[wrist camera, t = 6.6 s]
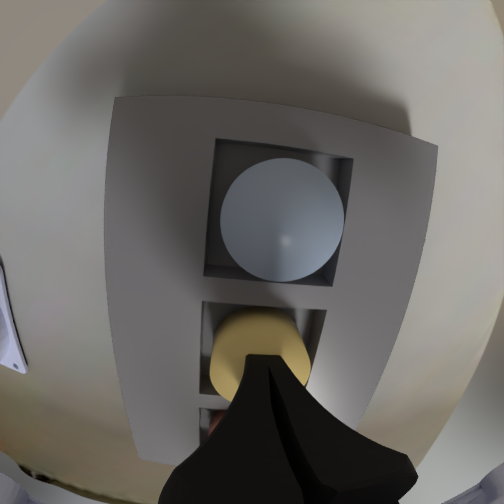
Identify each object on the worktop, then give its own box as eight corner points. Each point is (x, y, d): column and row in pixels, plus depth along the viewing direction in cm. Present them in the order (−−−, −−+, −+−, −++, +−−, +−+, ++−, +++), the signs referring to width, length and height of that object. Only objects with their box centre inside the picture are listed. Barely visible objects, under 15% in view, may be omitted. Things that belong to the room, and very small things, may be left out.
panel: (145, 438, 16) (139, 459, 14) (132, 107, 10) (114, 97, 9) (327, 446, 17) (333, 466, 15) (413, 147, 12) (437, 146, 10)
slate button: (219, 256, 12) (215, 276, 9) (229, 155, 10) (227, 151, 8) (316, 265, 12) (332, 285, 10) (330, 168, 11) (351, 169, 9)
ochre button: (211, 373, 13) (208, 404, 11) (215, 301, 12) (211, 328, 10) (291, 377, 13) (299, 407, 11) (307, 308, 12) (320, 334, 10)
